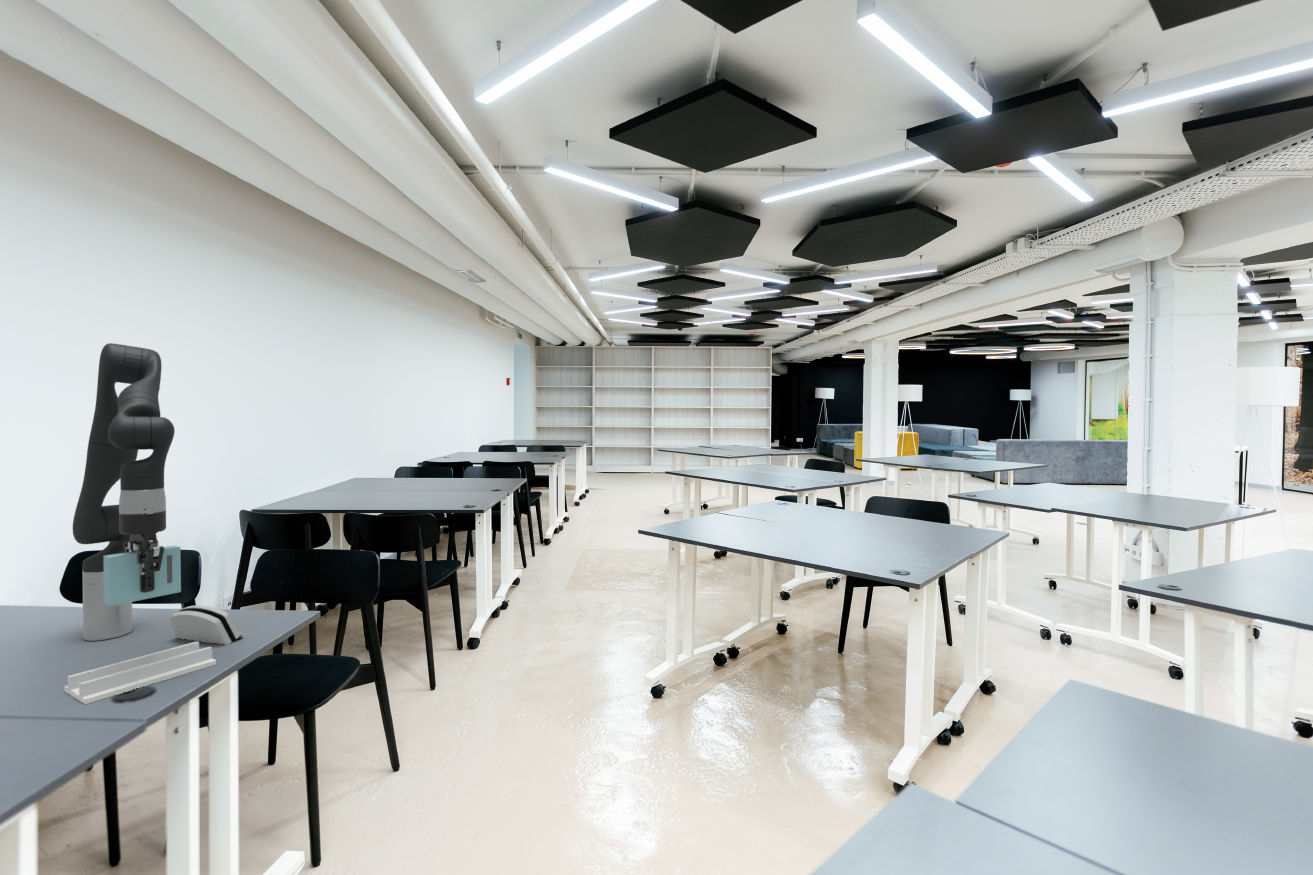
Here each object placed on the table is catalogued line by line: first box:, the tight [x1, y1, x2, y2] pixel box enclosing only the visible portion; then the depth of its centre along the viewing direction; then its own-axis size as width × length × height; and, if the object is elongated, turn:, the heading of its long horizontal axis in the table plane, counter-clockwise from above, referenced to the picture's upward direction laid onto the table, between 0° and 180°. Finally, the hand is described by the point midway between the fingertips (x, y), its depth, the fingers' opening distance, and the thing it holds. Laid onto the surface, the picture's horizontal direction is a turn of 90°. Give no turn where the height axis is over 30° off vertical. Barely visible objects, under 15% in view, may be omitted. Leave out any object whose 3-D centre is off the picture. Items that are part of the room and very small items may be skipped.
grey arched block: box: [169, 604, 246, 646], centre depth 146 cm, size 17×5×10 cm, turn 76°
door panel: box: [103, 545, 182, 606], centre depth 124 cm, size 3×12×10 cm, turn 150°
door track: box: [63, 641, 217, 705], centre depth 125 cm, size 11×22×4 cm, turn 150°
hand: (143, 589), depth 124 cm, fingers closed on door panel, 3 cm apart
